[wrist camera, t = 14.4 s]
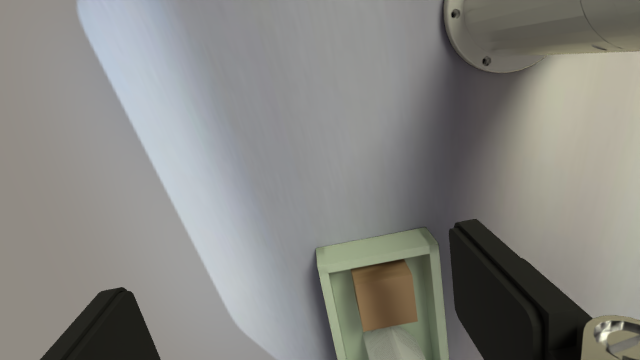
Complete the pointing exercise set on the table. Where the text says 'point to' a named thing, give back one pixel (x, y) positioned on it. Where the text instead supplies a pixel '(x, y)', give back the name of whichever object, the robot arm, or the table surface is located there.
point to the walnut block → (384, 294)
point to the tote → (403, 245)
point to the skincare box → (392, 344)
